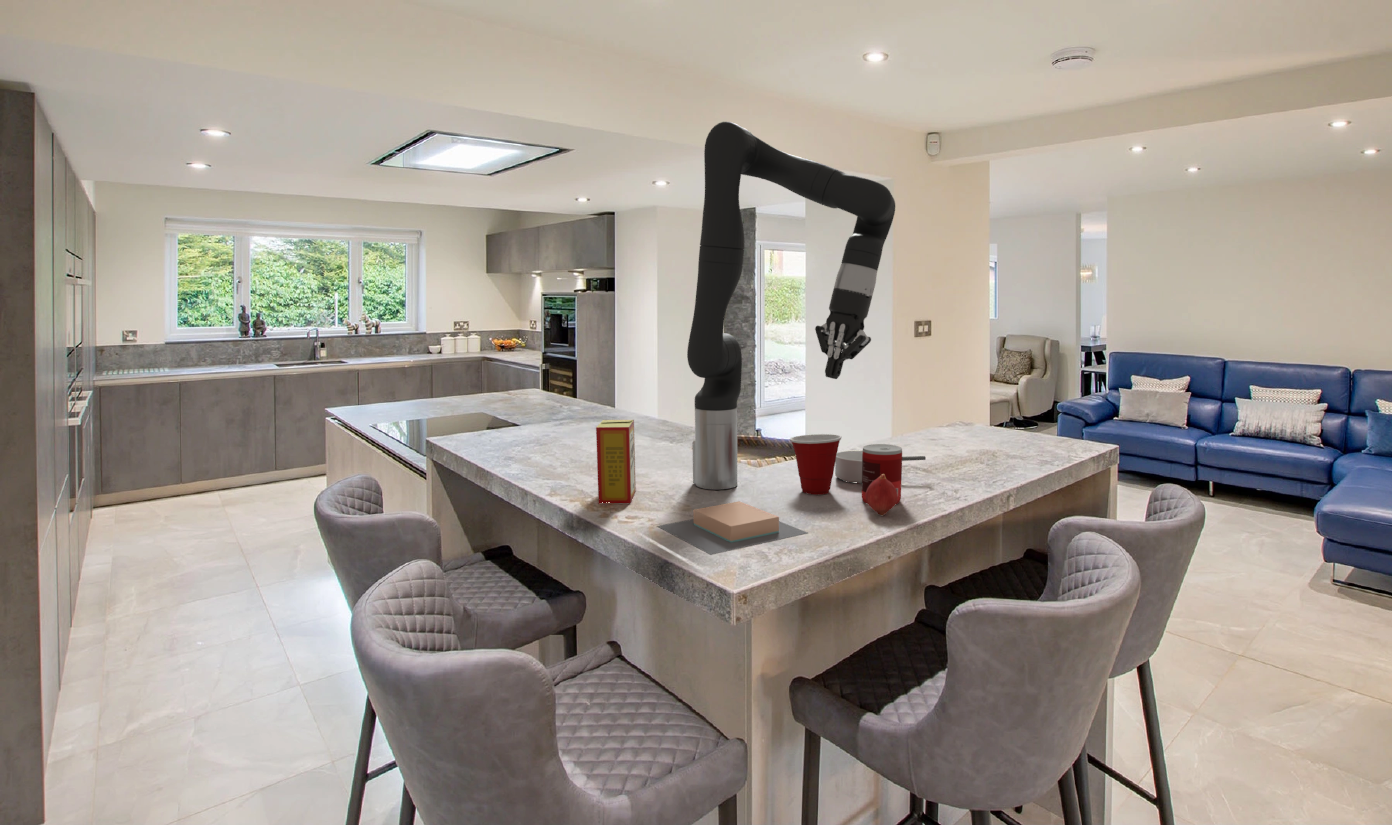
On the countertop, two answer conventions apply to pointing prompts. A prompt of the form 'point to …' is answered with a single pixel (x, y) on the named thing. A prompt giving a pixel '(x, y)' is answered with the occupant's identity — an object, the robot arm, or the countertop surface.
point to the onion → (881, 495)
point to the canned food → (881, 466)
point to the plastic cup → (816, 461)
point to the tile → (736, 521)
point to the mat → (717, 544)
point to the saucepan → (856, 465)
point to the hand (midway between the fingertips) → (831, 377)
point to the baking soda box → (616, 461)
